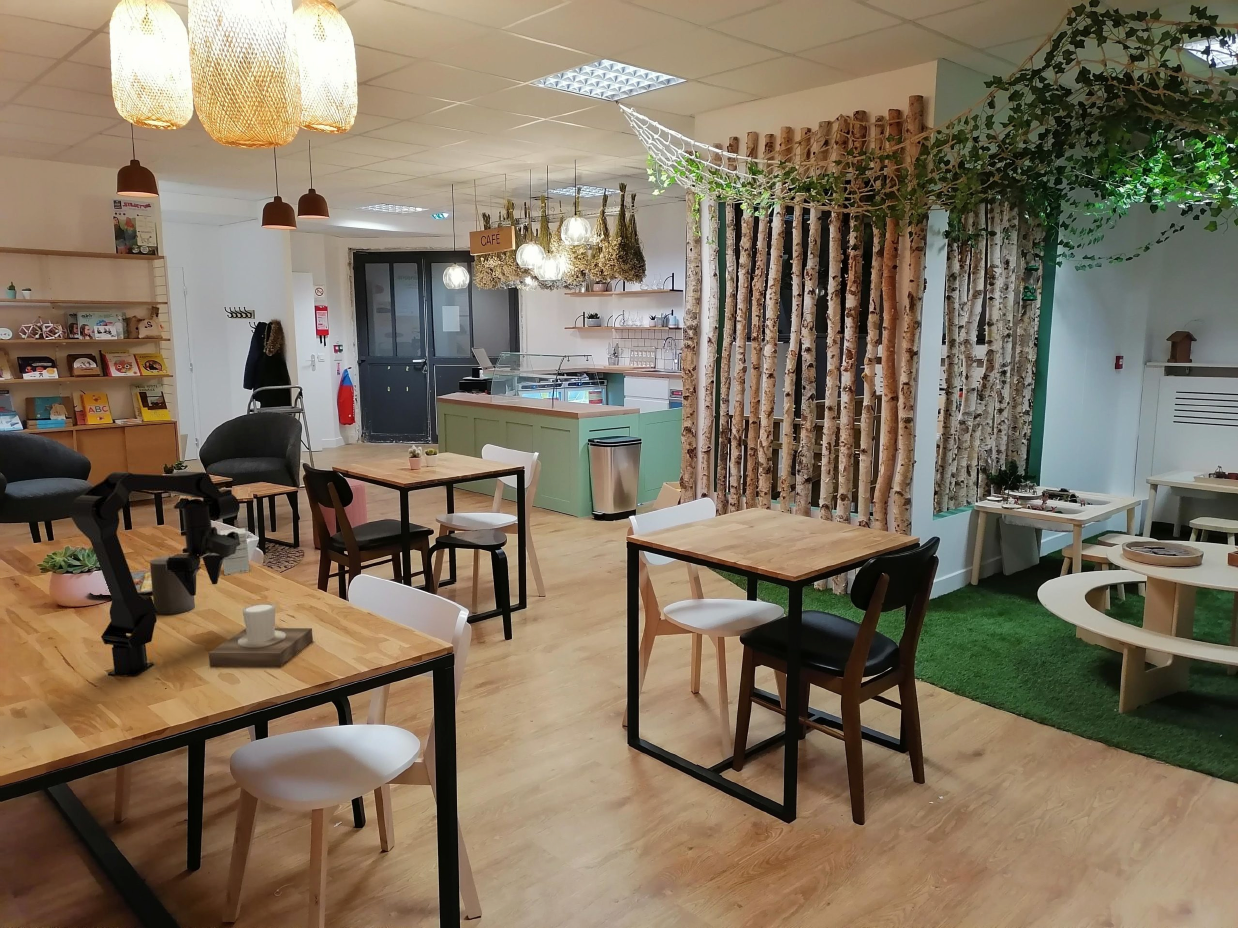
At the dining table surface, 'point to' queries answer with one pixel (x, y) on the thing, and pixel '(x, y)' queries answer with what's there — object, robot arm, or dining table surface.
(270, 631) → the white cup
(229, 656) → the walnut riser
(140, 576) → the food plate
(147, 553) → the dining table surface
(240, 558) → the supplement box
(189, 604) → the pillar candle
